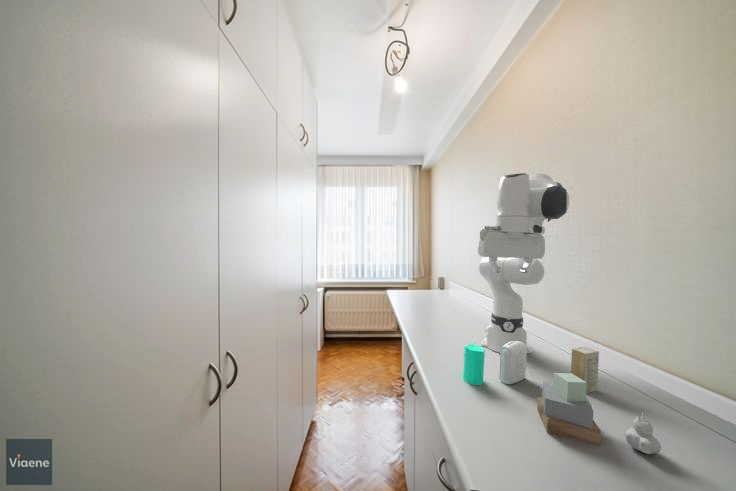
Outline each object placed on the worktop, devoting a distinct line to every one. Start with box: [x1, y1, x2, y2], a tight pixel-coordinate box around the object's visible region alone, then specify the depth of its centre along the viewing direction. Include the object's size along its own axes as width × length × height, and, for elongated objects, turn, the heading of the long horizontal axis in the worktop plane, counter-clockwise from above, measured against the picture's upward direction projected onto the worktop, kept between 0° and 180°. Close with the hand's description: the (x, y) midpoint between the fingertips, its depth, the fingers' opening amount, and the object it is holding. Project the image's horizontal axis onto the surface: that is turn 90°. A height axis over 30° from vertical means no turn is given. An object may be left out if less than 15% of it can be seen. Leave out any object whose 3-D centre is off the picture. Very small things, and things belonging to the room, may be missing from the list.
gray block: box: [541, 382, 594, 429], centre depth 68 cm, size 9×9×4 cm
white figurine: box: [624, 412, 662, 455], centre depth 60 cm, size 5×7×8 cm
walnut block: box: [536, 396, 602, 446], centre depth 67 cm, size 10×10×4 cm
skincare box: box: [570, 346, 600, 394], centre depth 86 cm, size 6×4×12 cm
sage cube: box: [553, 372, 587, 402], centre depth 67 cm, size 4×4×4 cm
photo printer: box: [498, 341, 528, 385], centre depth 90 cm, size 10×4×12 cm, turn 124°
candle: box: [462, 342, 485, 386], centre depth 88 cm, size 6×6×12 cm
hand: (510, 272), depth 84 cm, fingers open, 8 cm apart
